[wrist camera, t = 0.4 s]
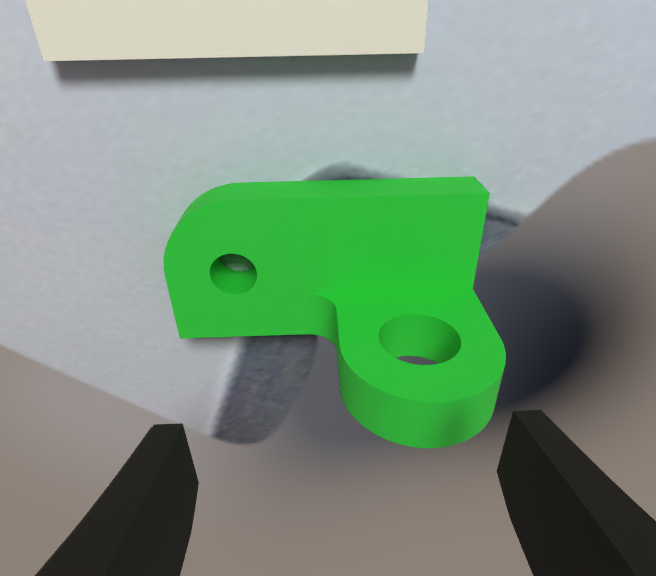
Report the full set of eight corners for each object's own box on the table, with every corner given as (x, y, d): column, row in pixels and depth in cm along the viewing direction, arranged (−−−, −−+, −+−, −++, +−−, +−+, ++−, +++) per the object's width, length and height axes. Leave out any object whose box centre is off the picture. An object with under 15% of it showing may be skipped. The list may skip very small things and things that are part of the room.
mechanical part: (472, 174, 18) (571, 280, 11) (453, 302, 21) (520, 444, 14) (163, 182, 18) (73, 295, 11) (190, 310, 21) (133, 459, 14)
